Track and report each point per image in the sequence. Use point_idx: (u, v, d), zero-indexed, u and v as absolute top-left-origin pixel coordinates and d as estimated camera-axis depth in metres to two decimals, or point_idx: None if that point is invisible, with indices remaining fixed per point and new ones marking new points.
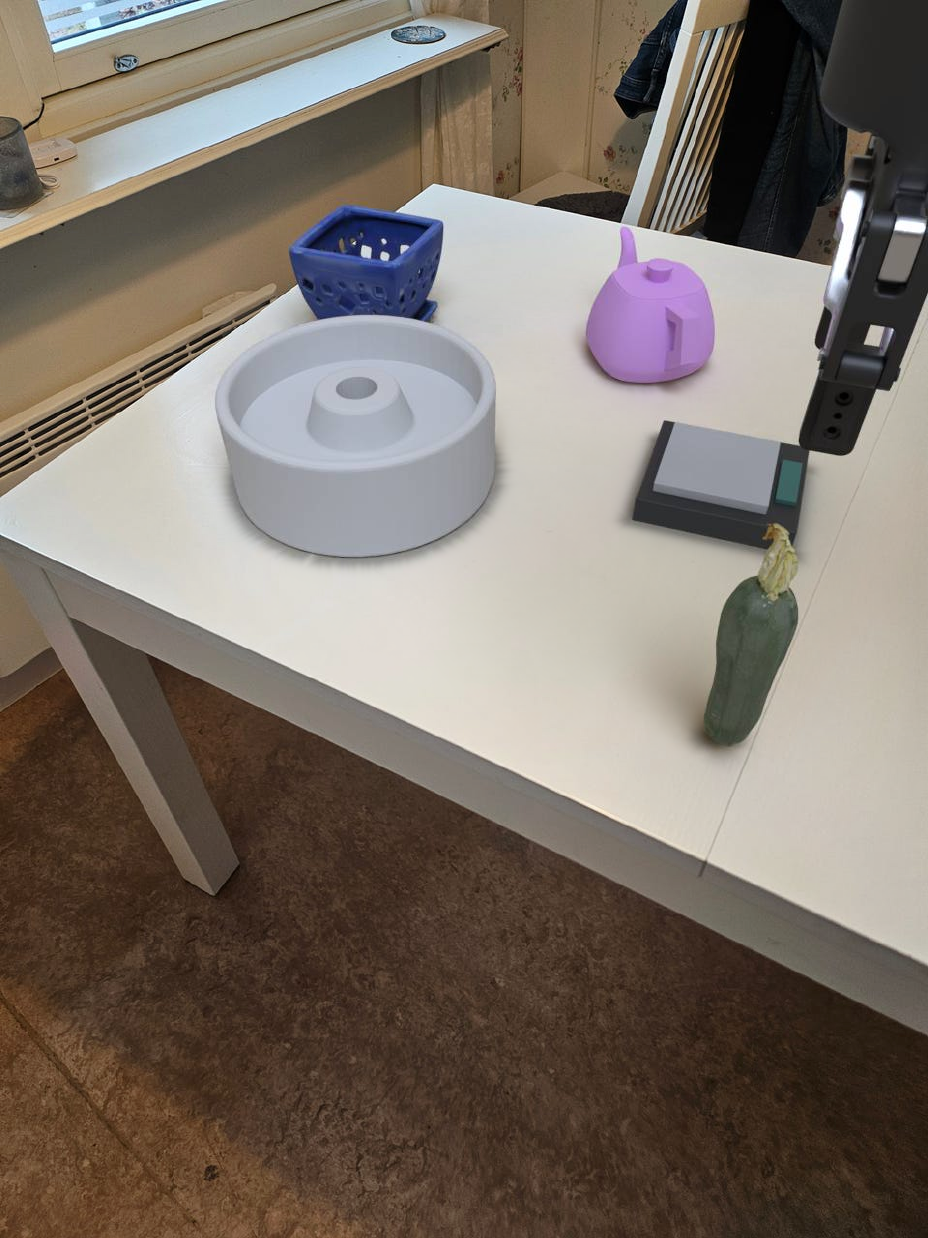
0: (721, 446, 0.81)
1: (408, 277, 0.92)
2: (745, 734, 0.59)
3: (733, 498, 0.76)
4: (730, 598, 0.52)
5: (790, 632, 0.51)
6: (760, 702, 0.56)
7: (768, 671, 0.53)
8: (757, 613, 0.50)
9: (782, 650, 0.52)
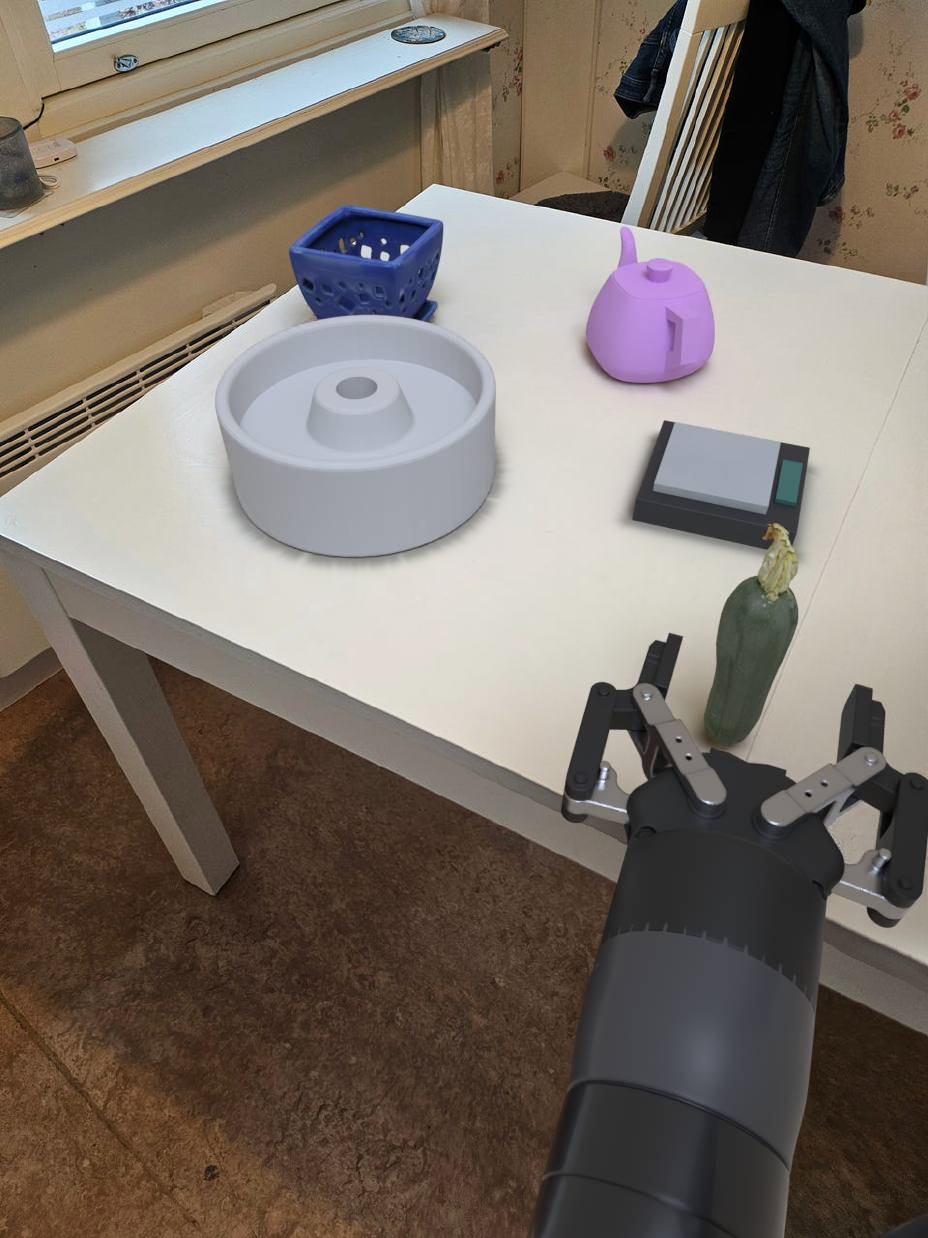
0: (721, 446, 0.81)
1: (408, 277, 0.92)
2: (745, 734, 0.59)
3: (733, 498, 0.76)
4: (730, 598, 0.52)
5: (790, 632, 0.51)
6: (760, 702, 0.56)
7: (768, 671, 0.53)
8: (757, 613, 0.50)
9: (782, 650, 0.52)
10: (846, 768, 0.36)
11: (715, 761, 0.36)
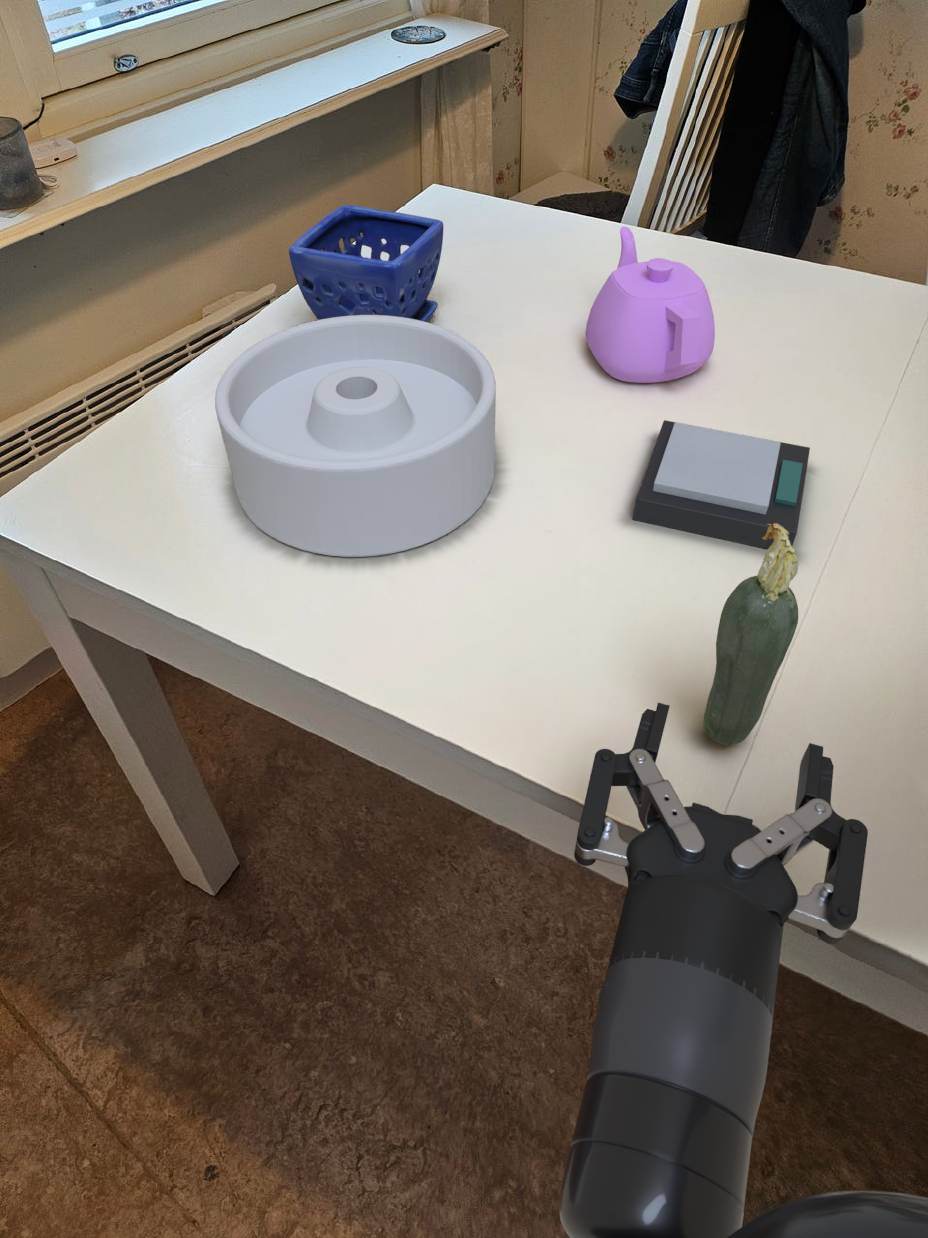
0: (721, 446, 0.81)
1: (408, 277, 0.92)
2: (745, 734, 0.59)
3: (733, 498, 0.76)
4: (730, 598, 0.52)
5: (790, 632, 0.51)
6: (760, 702, 0.56)
7: (768, 671, 0.53)
8: (757, 613, 0.50)
9: (782, 650, 0.52)
10: (800, 817, 0.45)
11: (696, 814, 0.45)
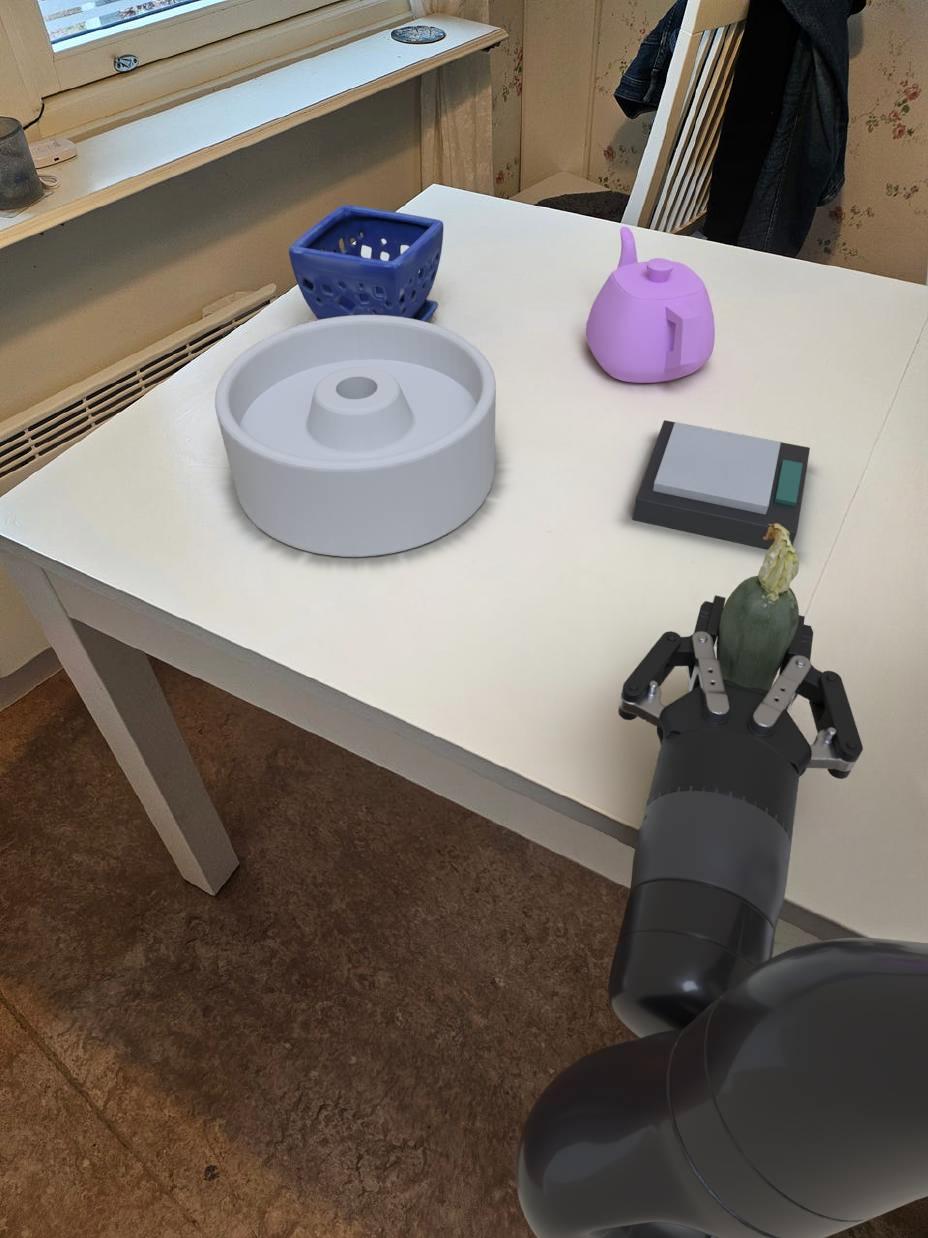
0: (721, 446, 0.81)
1: (408, 277, 0.92)
2: None
3: (733, 498, 0.76)
4: (731, 598, 0.52)
5: (790, 632, 0.51)
6: None
7: (769, 671, 0.53)
8: (758, 613, 0.50)
9: (782, 650, 0.52)
10: (783, 669, 0.52)
11: None
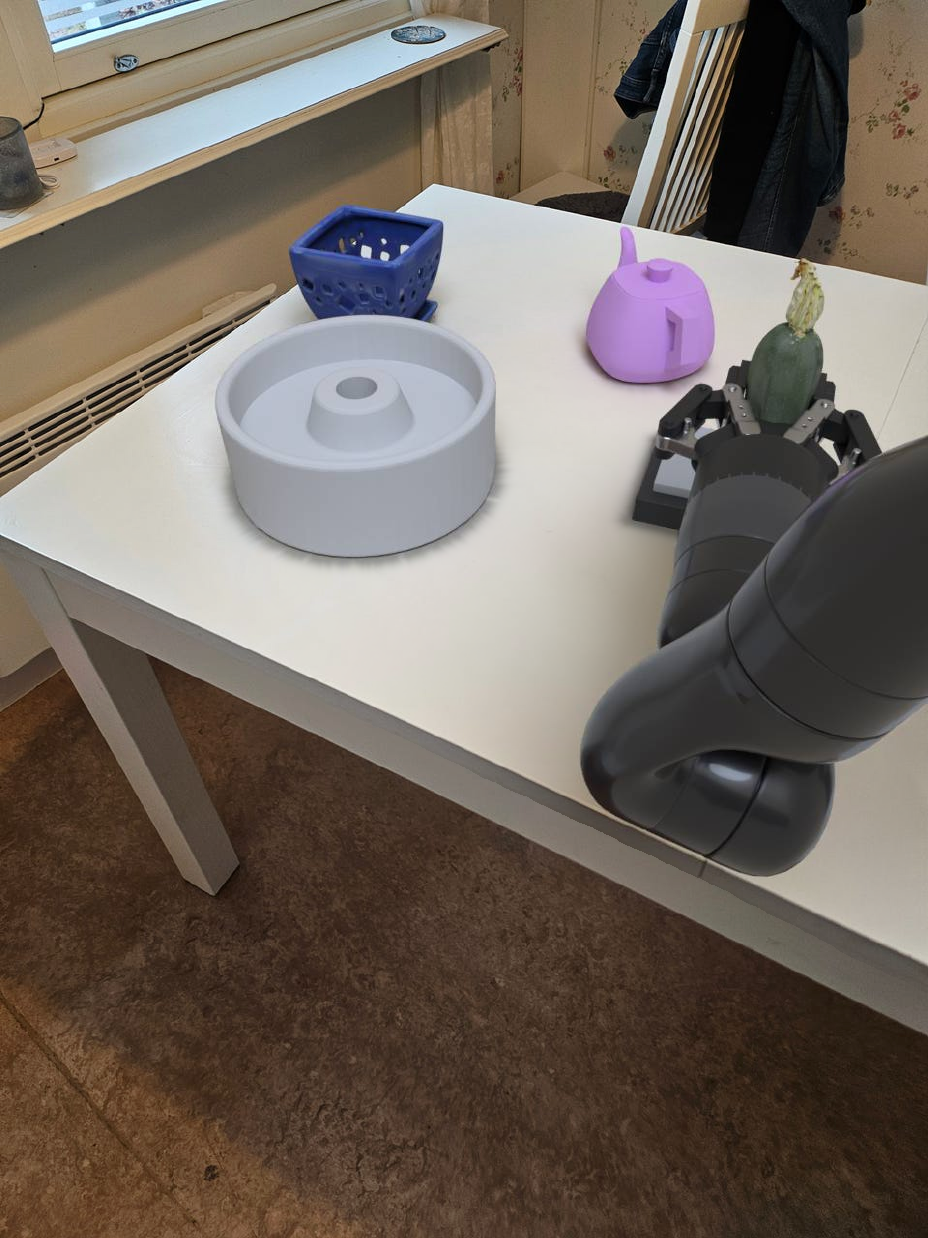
0: None
1: (408, 277, 0.92)
2: None
3: None
4: (759, 345, 0.55)
5: (816, 372, 0.55)
6: None
7: (795, 419, 0.56)
8: (786, 351, 0.54)
9: (808, 393, 0.55)
10: (809, 408, 0.55)
11: None
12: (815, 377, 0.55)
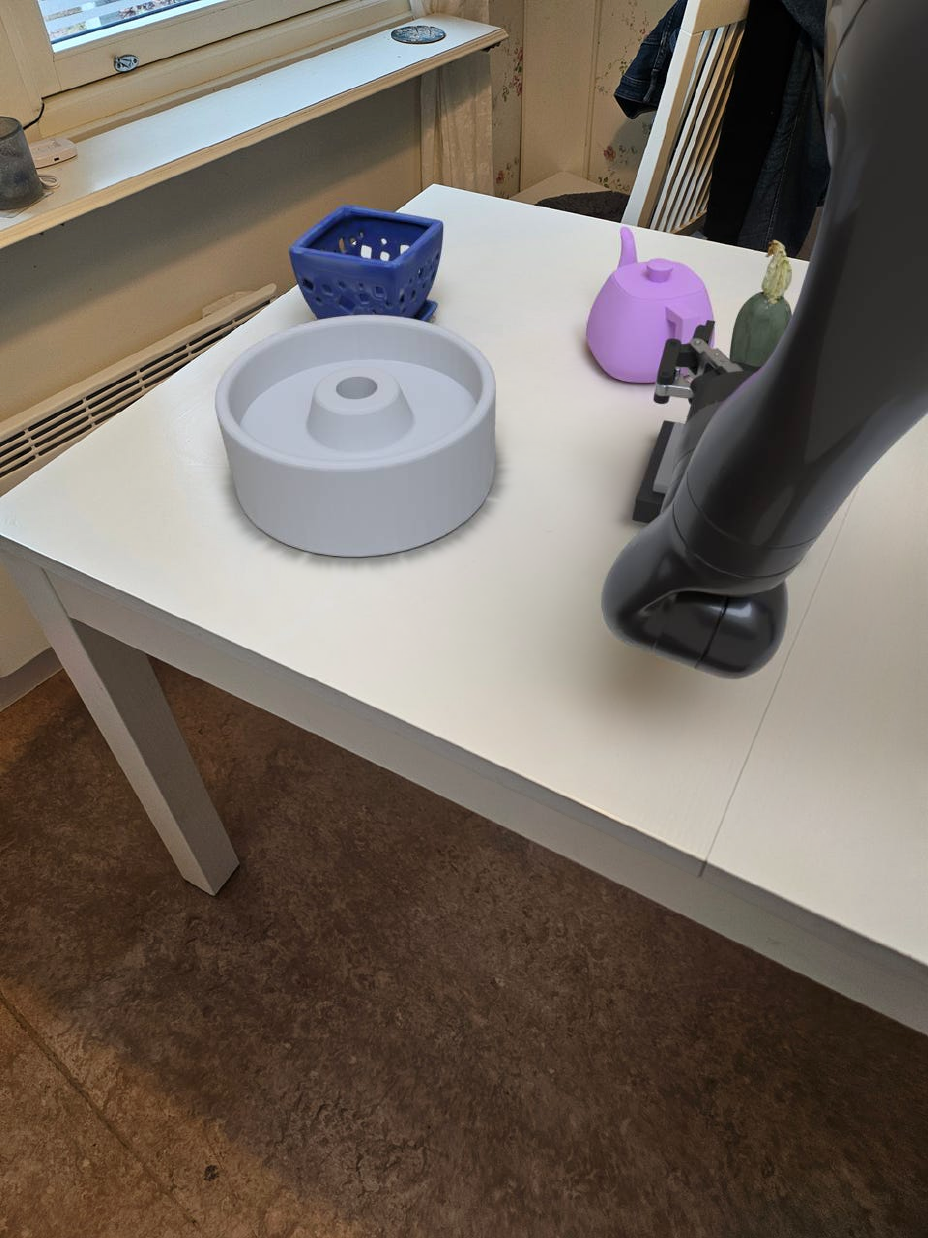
0: None
1: (408, 277, 0.92)
2: None
3: None
4: (741, 310, 0.69)
5: None
6: None
7: None
8: (761, 314, 0.67)
9: None
10: None
11: None
12: None
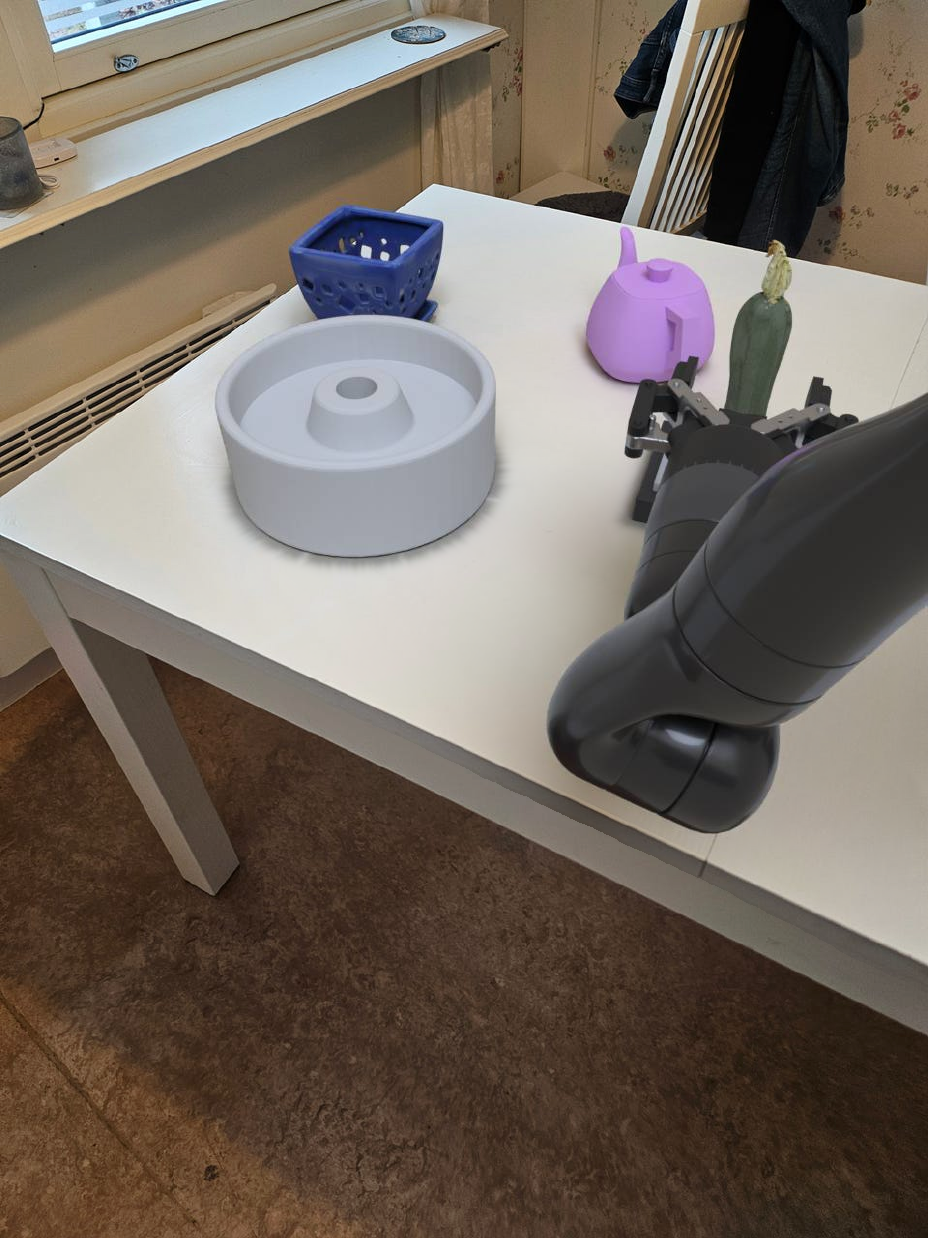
0: None
1: (408, 277, 0.92)
2: None
3: None
4: (741, 310, 0.69)
5: (786, 332, 0.68)
6: (763, 404, 0.73)
7: (769, 370, 0.70)
8: (761, 314, 0.67)
9: (780, 348, 0.69)
10: (805, 413, 0.56)
11: None
12: (785, 335, 0.68)
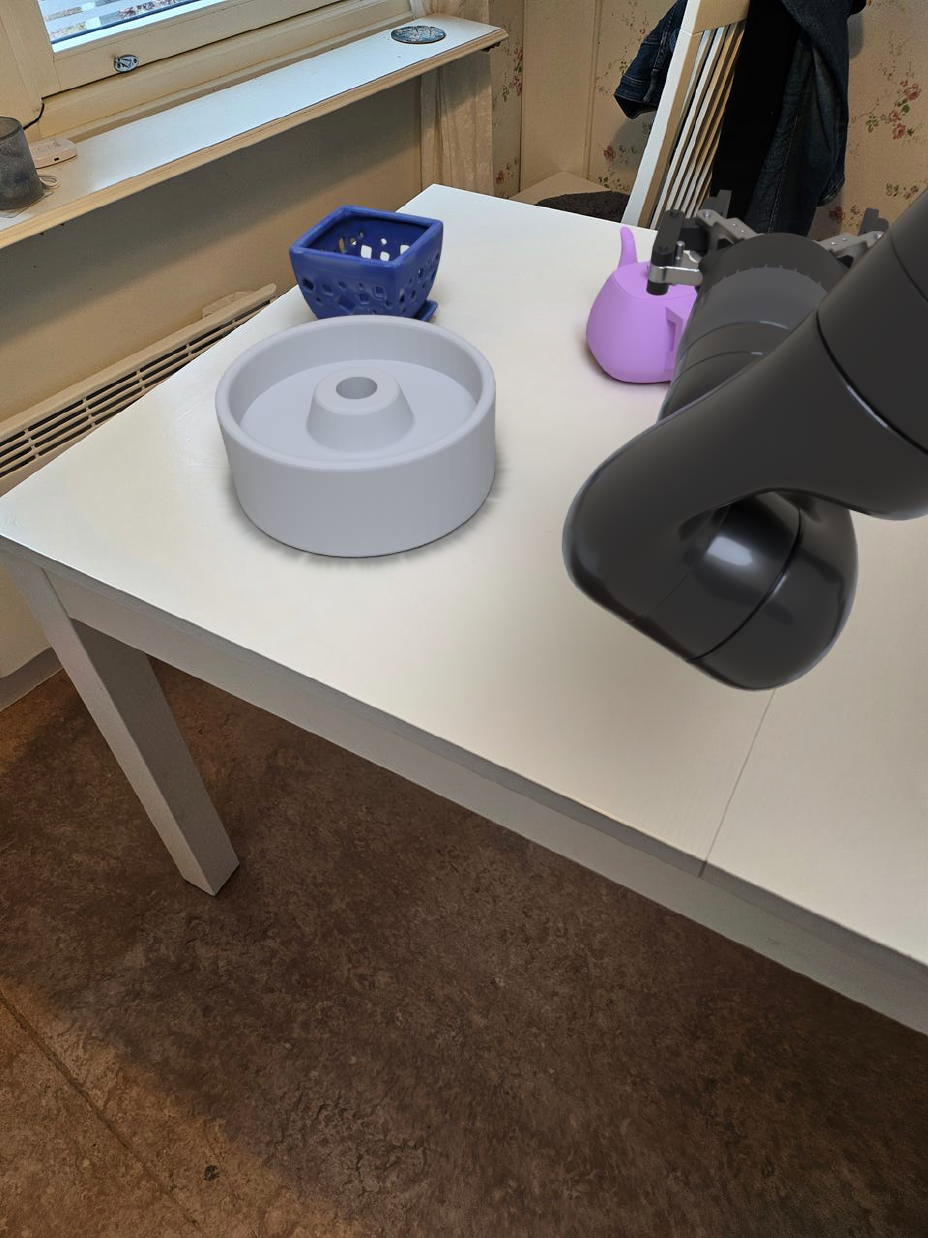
0: None
1: (408, 277, 0.92)
2: None
3: None
4: None
5: None
6: None
7: None
8: None
9: None
10: None
11: None
12: None
